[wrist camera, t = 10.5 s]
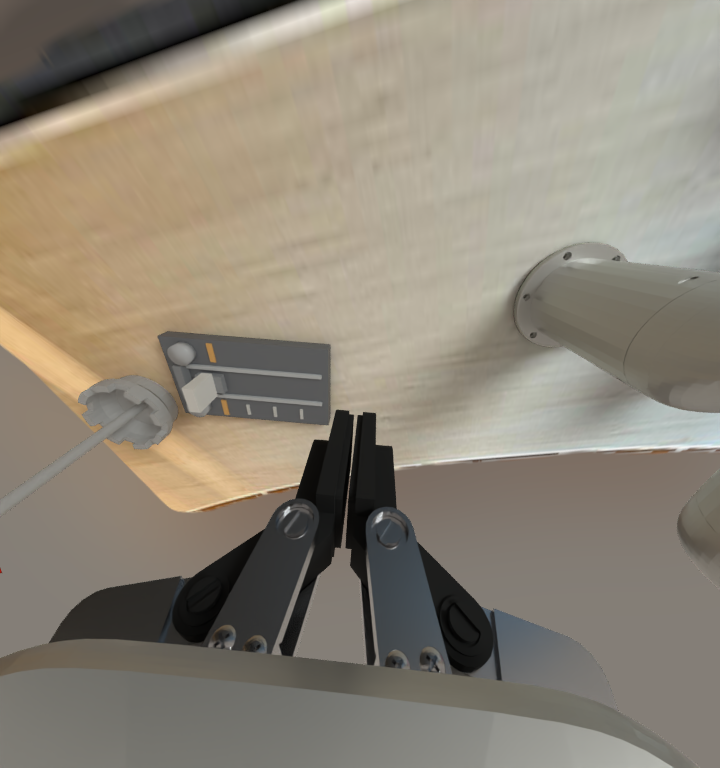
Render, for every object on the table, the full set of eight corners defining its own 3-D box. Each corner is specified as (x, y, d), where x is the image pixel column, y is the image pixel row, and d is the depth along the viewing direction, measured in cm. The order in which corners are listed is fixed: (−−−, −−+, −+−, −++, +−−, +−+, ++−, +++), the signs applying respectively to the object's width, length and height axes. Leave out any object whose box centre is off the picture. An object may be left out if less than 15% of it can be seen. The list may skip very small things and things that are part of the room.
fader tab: (222, 371, 39) (201, 390, 34) (228, 392, 41) (208, 413, 36) (197, 369, 39) (172, 387, 34) (204, 390, 41) (181, 411, 36)
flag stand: (93, 385, 45) (-294, 590, 19) (142, 358, 41) (-252, 564, 15) (151, 437, 50) (-86, 648, 25) (198, 416, 47) (-21, 639, 21)
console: (330, 344, 38) (326, 354, 35) (330, 418, 45) (326, 431, 42) (167, 331, 38) (149, 339, 35) (192, 406, 46) (179, 418, 43)
